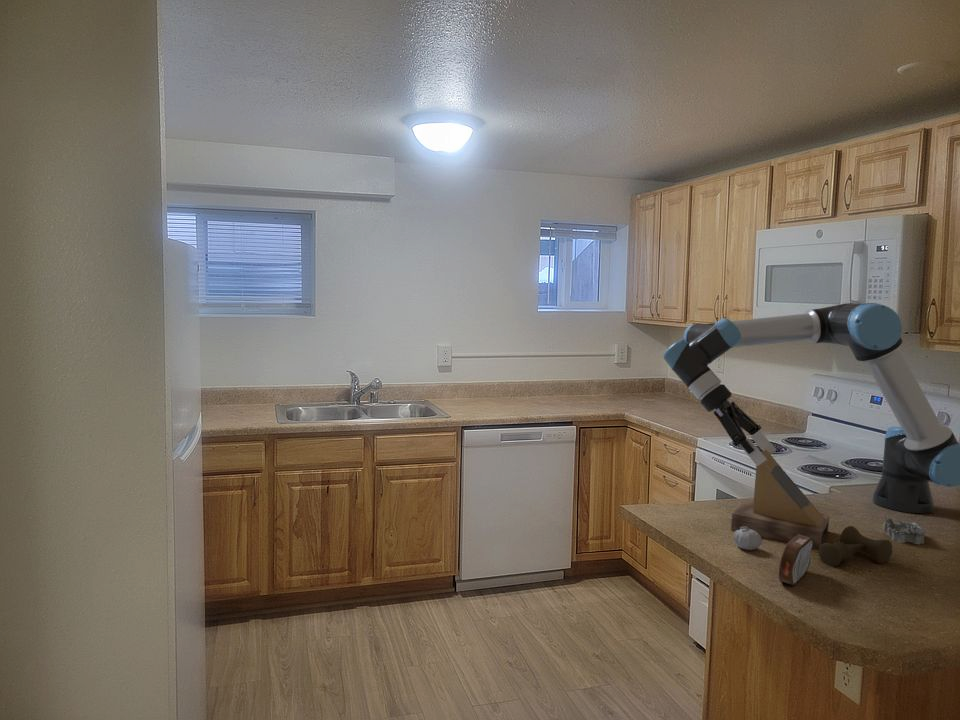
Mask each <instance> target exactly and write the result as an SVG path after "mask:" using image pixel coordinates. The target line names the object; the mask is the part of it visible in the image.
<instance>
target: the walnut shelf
mask: <svg viewBox="0 0 960 720" xmlns="http://www.w3.org/2000/svg"><path fill="white" fill-rule="evenodd" d="M753 502H754V500H750V499H745V500H744V501H743V502H742V503H741V504H740V506H738V507H737V508H736V509H735V510H734V511H733V512H732V515H731V523H730V525H731V526H730V531H732V530H733V531H732V532H735V531H737V530H740V527H743V526H747V527H748V528H749V529H751V530H754V531H756V532H757V533H758V534H759V535H760V536H761V538H765V539H770V540H775V541H780V542H785V543H788V542H789V541H791V540H792V539H793V538H794V537H796V536H797V535H798V534H801V535H803V536H807V537H810V538H812V540H813V547H812V549H818V550H819V548H820V546H821V545H822V544H823V543H822V541H823V534H828V532H829V526H830V514H827V513H826V514H825V513H821V512H820V513H821V515H822V516H823V517H824V518H825V519H824V521H823V523H822V524H821V525H820V526H819V527H818V526H813V525H808V524H803V523H798V522H793V521H789V520H784V519H779V518H774V517H770V516H765V515H760V514H756V513H753Z"/></svg>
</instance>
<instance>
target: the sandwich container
mask: <svg viewBox="0 0 960 720" xmlns="http://www.w3.org/2000/svg"><path fill="white" fill-rule="evenodd" d="M760 452H761V453H762V454H763V455H764V456H765V458H766V459H767V460H766V461H764V462H763V463H761V464H760V465H759V466H757V465H756V464H755V476H754V477H755V478H754V492H753V501H754V502H753V513H756V514H760V515H765V516H770V517H774V518H779V519H784V520H789V521H793V522H798V523H803V524H808V525H813V526H818V527H819V526H820V525H821V524H822V523H823V521H824V519H825V518H824V517H823V516H822V515H821V512H820V511H819V510H818V509H817V508H816V507H815V505H814V504H813V503H812V502H811V501H810V499H808V496H806V495H805V494H804V492H803V491H802V490H801V489H800V488H799V486H798V485H796V483H795V482H794V481H793V479H792V478H791V477H790V476H789V475H788V474H787V473H786V471H785V470H784V469H783V468H782V467H781V465H780V464H779V463H778V462H777V461H776V459H774V457H773V456H772V454H770V453H769V452H768V451H767V450H765V451H763V450H762V451H760Z"/></svg>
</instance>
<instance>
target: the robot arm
mask: <svg viewBox="0 0 960 720" xmlns="http://www.w3.org/2000/svg"><path fill="white" fill-rule="evenodd" d="M902 331H903V324H902V320H901V318H900V316H899V315H898V313H897V312H896V311H895V310H894V309H892V308H891V307H889V306H887V305H884V304H879V303H876V302H866V303H865V302H864V303H850V302H849V303H847V302H846V303H841V304H836V305H831V306H827V307H822V308H814V309H808V310H806V312H805V313H800V314H790V315H789V314H788V315H780V316H770V317H761V318H760V317H759V318H750V319H741V320H731V319H729V318H727V317H723V318H721V319H720V320H717V321H715V322H710V323H694V324H691V325H689V326H687V328H686V329H685V330H684V333H683V339H681V338H680V339H679V340H677V341H676V342H674V343H673V344H672V345H671V346H669V347H668V348H667V349H666V350H665V351H664V353H663V360H664V361H665V362H666V363H667V364H668V366H669V367H670V369H671V370H672V371H673V372H674V373H675V375H676V376H677V377H678V378H679V379H680V380H681V381H682V382H683V384H684V385H685V387H687V388H688V390H690V391H689V393H690V395H694V396H695V398H696V399H697V400H700V404H701V405H702V407H704V409H705V410H706V411H707V412H709V413H710V412H713V415H714V416H715V417H716V418H717V419H718V421H719V422H720V425H722V427H723V429H724V430H725V431H726V433H727V434H728V436H729V438H730V439H731V441H732V442H733V445H734V446H735V447H737V446H739V447H740V448H741V449H742V450H743V451H744V453H746V455H747V456H748V457H749V458H750V460H752V462H753V463H754V464H755V466H756V465H757V466H759V465H760V464H761V463H763V462H764V461H766V460H767V459H766V458H765V456H764V455H763V454H762V453H761V452H763V451H765V450H767V451H768V452H769V453H770V454H771V455H773V454H774V453H775V452H776V451H778V450H777V449H776V447H775V446H774V445H773V444H772V443H771V442H770V440H769V439H768V438H767V437H766V436H765V435H764V433H763V432H762V431H761V429H762V426H761V425H758V423H756V422H755V421H754V420H753V419H752V418H751V417H750V416H749V415H748V414H746V412H745V411H743V410H742V409H741V408H740V407H739V406H738V404H736V403H735V402H734V401H728V399H730V398H731V397H732V395H733V394H732V392H731V391H730V390H729V389H728V387H727V386H726V385H725V384H721V383H722V381H721V379H720V378H719V377H718V376H717V375H716V374H715V372H714V371H713V370H712V369H711V368H710V367H709V365H710V364H712V362H714V361H715V360H717V359H718V358H720V357H721V356H723V355H724V354H725V353H726V352H728V351H729V350H730V349H732V348H744V347H753V346H762V345H763V346H764V345H766V346H767V345H774V344H775V345H776V344H783V343H784V344H786V343H795V342H805V341H807V342H808V343H810V344H823V343H824V344H833V345H834V344H835V345H842V346H846V347H849V349H850V350H851V352H852V354H853V356H854V358H855V360H856V361H857V362H860V363H863V364H866V367H867V368H868V370H869V372H870V374H871V376H872V377H873V379H874V381H875V383H876V385H877V386H878V388H879V389H880V392H881V394H882V396H883V397H884V399H885V401H886V402H887V404H888V406H889V408H890V409H891V411H892V413H893V415H894V417H895V419H896V420H897V422H898V424H899V426H891V427H888V428H887V429H886V432H885V437H884V450H883V460H882V461H883V462H882V469H881V470H882V471H881V477H880V479H879V481H878V482H877V484H876V486H875V489H874V491H873V494H872V500H873V501H872V502H873V504H876V505H878V506H880V507H883V508H887V509H889V510H892V511H893V510H895V511H897V512H905V513H909V514H910V513H912V514H913V513H914V514H929V513H932V512H934V507H935V502H934V498H933V493H932V491H931V487H930V482H932V483H934V484H935V485H939V486H944V487H947V488H948V487H950V488H951V487H952V488H953V487H959V486H960V443H959V441H958V440H957V438H956V436H955V434H954V433H953V430H952V429H951V428H950V427H949V426H946V425H943V424H941V422H940V421H939V419H938V417H937V415H936V413H935V412H934V409H933V408H932V406H931V404H930V402H929V400H928V398H927V397H926V395H925V393H924V391H923V390H922V388H921V386H920V384H919V382H918V380H917V378H916V376H915V375H914V373H913V371H912V369H911V367H910V366H909V363H908V362H907V360H906V359H905V357H904V354H903V353H902V351H901V348H902V346H903V344H904V341H903V339H902V337H901V336H902ZM743 430H744V431H745V432H746V433H748V434H749V435H750V437H747V436H746V434H745V432H744V431H743ZM751 439H752V440H751ZM753 441H754V442H755V443H753ZM755 444H757V446H758V447H757V446H756V445H755ZM759 448H760V449H761V450H762V451H761V450H760V449H759Z"/></svg>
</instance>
